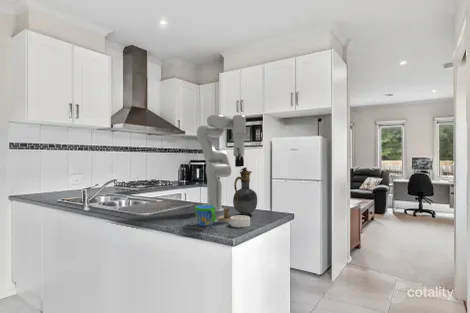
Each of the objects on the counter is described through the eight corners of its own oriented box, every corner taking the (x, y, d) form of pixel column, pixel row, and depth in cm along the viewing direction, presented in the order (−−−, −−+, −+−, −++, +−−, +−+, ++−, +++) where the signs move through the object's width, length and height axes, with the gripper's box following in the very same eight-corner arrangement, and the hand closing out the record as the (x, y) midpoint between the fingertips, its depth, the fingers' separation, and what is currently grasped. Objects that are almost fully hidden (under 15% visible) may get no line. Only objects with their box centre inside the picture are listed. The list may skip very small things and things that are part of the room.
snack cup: (221, 226, 153) (221, 207, 153) (204, 230, 147) (204, 209, 147) (206, 221, 166) (206, 203, 166) (189, 223, 159) (189, 205, 159)
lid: (214, 220, 164) (214, 209, 164) (221, 216, 174) (221, 206, 174) (232, 222, 160) (232, 211, 160) (238, 218, 171) (238, 207, 171)
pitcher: (259, 214, 183) (259, 166, 183) (242, 220, 168) (242, 168, 167) (244, 212, 190) (245, 166, 189) (227, 218, 174) (227, 167, 174)
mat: (212, 222, 163) (212, 221, 163) (220, 217, 175) (220, 216, 175) (233, 223, 160) (233, 222, 160) (239, 219, 171) (239, 218, 171)
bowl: (228, 227, 152) (228, 218, 152) (234, 222, 162) (234, 214, 161) (246, 228, 149) (246, 220, 149) (251, 224, 158) (251, 216, 158)
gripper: (235, 137, 178) (236, 166, 178) (229, 135, 161) (230, 166, 161) (247, 137, 176) (248, 166, 176) (243, 135, 160) (243, 166, 159)
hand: (239, 166), depth 169 cm, fingers open, 9 cm apart
